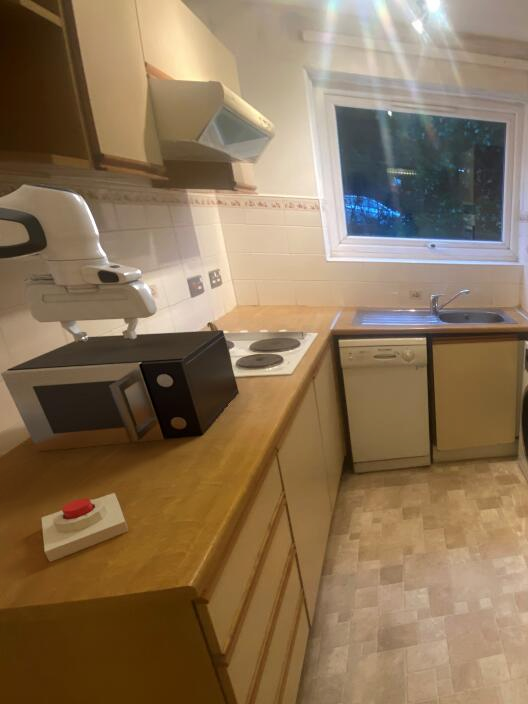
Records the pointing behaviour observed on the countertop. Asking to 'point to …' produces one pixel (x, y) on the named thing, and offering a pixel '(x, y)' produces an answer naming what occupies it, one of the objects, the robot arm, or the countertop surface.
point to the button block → (82, 528)
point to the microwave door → (85, 405)
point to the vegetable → (214, 328)
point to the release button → (77, 508)
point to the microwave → (163, 372)
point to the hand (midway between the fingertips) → (107, 339)
